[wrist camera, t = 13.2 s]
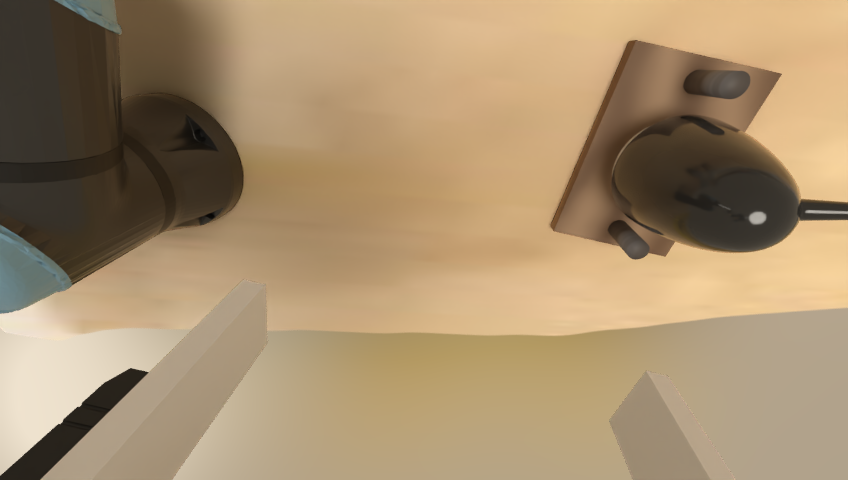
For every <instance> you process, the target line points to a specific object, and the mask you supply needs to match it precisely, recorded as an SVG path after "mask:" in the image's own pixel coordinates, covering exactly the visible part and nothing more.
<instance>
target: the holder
mask: <svg viewBox="0 0 848 480" xmlns="http://www.w3.org/2000/svg"><path fill="white" fill-rule="evenodd" d="M781 75H782V74H780V73H776V72H772V71H767V70H763V69H759V68H754V67H750V66H746V65H741V64H737V63H733V62H728V61H724V60H720V59H715V58H711V57H706V56H702V55H698V54H693V53H689V52H685V51H680V50H676V49H672V48H667V47H663V46H659V45H654V44H650V43H646V42H641V41H637V40H635V41H629V42H628V45H627V47H626V49H625V52H624V54H623V56H622V59H621V61H620V64H619V66H618V68H617V71H616V73H615V75H614V78H613V80H612V82H611V85H610V87H609V89H608V92H607V94H606V96H605V99H604V101H603V104H602V106H601V108H600V111H599V113H598V115H597V118H596V120H595V122H594V125H593V127H592V129H591V132H590V134H589V136H588V139H587V141H586V144H585V146H584V148H583V151H582V153H581V155H580V158H579V160H578V162H577V165H576V167H575V169H574V172H573V174H572V177H571V179H570V181H569V184H568V186H567V188H566V191H565V193H564V195H563V198H562V200H561V202H560V205H559V207H558V209H557V212H556V214H555V217H554V219H553V221H552V224H551V227H552V229H553V231H556V232H560V233H564V234H569V235H573V236H577V237H582V238H586V239H591V240H595V241H599V242H604V243H608V244H612V245H617V246H620V247H621V248H622V249H623V250H624V251H625V253H626V254H627V255H628V256H629V257H630V258H632V259H641V258H643V257H645V256H646V255H647V254H648V253H652V254H656V255H661V256H666V255H667V253H668V252H669V250H670V249H671V247H672V245H673V244H674V242H675V241H672V240H669V239H666V238H664V237H661V236H659V235H657V234H654V233H652V232H650V231H649V230H647V229H645V228H643V227H641V226H639V225H638V224H636V223H635V222H633V221H632V220H630V219H629V218H628V217H627V216H626V215H624V214H623V213H622V211H621V210H620V209H619V208H618V206H617V205H616V203H615V201H614V198H613V195H612V189H611V180H612V171H613V167H614V163H615V161H616V158H617V156H618V154H619V153H620V151H621V150H622V148H623V147H624V146H625V144H626V143H627V142H628V141H629V140H630V139H631V138H632V137H633V136H635V135H636V134H637V133H639V132H640V131H642V130H643V129H645V128H647V127H649V126H651V125H653V124H655V123H657V122H659V121H662V120H664V119H667V118H670V117H674V116H679V115H689V114H694V115H703V116H708V117H712V118H715V119H718V120H721V121H723V122H726V123H728V124H730V125H732V126H734V127H736V128H738V129H739V130H741V131H743V132H745V131H746V129H747V128H748V126H749V125H750V123H751V122H752V120H753V118H754V117H755V115H756V114H757V112H758V111H759V109H760V107H761V106H762V104H763V103H764V101H765V100H766V98H767V96H768V95H769V93H770V92H771V90H772V89H773V87H774V85H775V84H776V82H777V81H778V79H779V78H780V76H781Z"/></svg>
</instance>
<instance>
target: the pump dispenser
mask: <svg viewBox="0 0 848 480" xmlns="http://www.w3.org/2000/svg"><path fill="white" fill-rule="evenodd" d="M611 189H612V195H613V198H614V201H615V203H616V205H617V206H618V208H619V209H620V210H621V211H622V213H623V214H624V215H626V216H627V217H628V218H629V219H630V220H632V221H633V222H635V223H636V224H638V225H639V226H641V227H643V228H645V229H647V230H649V231H650V232H652V233H654V234H657V235H659V236H661V237H664V238H666V239H669V240H672V241H675V242H678V243H681V244H684V245H687V246H691V247H694V248H698V249H702V250H708V251H713V252H722V253H747V252H755V251H760V250H763V249H767V248H769V247H772V246H774V245H776V244H778V243H780V242H781V241H783V240H784V239H785V238H786V237H788V236H789V235H790V234H791V233H792V231H793V230H794V229H795V227H796V226H797V224H798V223H799V221H808V220H848V202H836V201H823V200H809V199H801V196H800V191H799V188H798V186H797V183H796V181H795V180H794V178H793V177H792V175H791V174H790V172H789V171H788V169H787V168H786V167H785V166H784V165H783V163H782V162H781V161H780V160H779V159H778V158H777V157H776V156H775V155H774V154H773V153H772V152H771V151H769V150H768V149H767V148H766V147H765V146H764V145H762V144H761V143H760V142H758V141H757V140H756V139H754V138H753V137H751V136H750V135H748V134H746V133H745V132H743V131H741V130H739V129H738V128H736V127H734V126H732V125H730V124H728V123H726V122H723V121H721V120H718V119H715V118H712V117H708V116H703V115H694V114H689V115H679V116H674V117H670V118H667V119H664V120H662V121H659V122H657V123H655V124H653V125H651V126H649V127H647V128H645V129H643V130H642V131H640V132H639V133H637V134H636V135H635V136H633V137H632V138H631V139H630V140H629V141H628V142H627V143H626V144H625V146H624V147H623V148H622V150H621V151H620V153H619V154H618V156H617V158H616V161H615V163H614V167H613V171H612V180H611Z"/></svg>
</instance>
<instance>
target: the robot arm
mask: <svg viewBox="0 0 848 480" xmlns="http://www.w3.org/2000/svg"><path fill="white" fill-rule="evenodd" d="M121 33H122V30H121V26H120V25H119V24H118V23H117V16H116V8H115V1H114V0H0V314H2V313H9V312H13V311H16V310H21V309H23V308H26V307H28V306H30V305H32V304H34V303H36V302H38V301H40V300H42V299H44V298H46V297H48V296H50V295H52V294H54V293H56V292H60V291H65V290H67V289H68V288H70V287H71V286H72V285H73V284H75V283H77V282H78V281H80V280H82V279H83V278H85V277H87V276H88V275H90V274H92V273H94V272H95V271H97V270H99V269H100V268H102V267H104V266H105V265H107V264H109V263H111V262H112V261H114V260H116V259H117V258H119V257H121V256H122V255H124V254H126V253H128V252H129V251H131V250H133V249H134V248H136V247H138V246H139V245H141V244H143V243H145V242H146V241H148V240H150V239H151V238H153V237H155V236H156V235H158V234H160V233H162V232H164V231H169V230H175V229H181V228H187V227H193V226H199V225H204V224H207V223H210V222H212V221H214V220H216V219H218V218H219V217H221V216H222V215H224V214H225V213H227V212H228V211H230V210H231V209H232V208H233V207H234V205H235V204H236V203H237V201H238V199H239V197H240V194H241V190H242V185H243V174H242V167H241V162H240V159H239V156H238V154H237V151H236V149H235V147H234V145H233V143H232V141H231V140H230V138H229V136H228V135H227V134H226V132H225V131H224V130H223V128H222V127H221V126H220V125H219V124H218V123H217V122H216V121H215V120H214V119H213V118H212V117H211V116H210V115H209V114H208V113H207V112H205V111H204V110H203V109H201V108H200V107H198V106H197V105H195V104H193V103H191V102H189V101H187V100H185V99H183V98H180V97H177V96H174V95H170V94H163V93H153V94H143V95H135V96H131V97H128V98H125V99H122V100H121V85H120V57H119V34H121ZM266 344H267V314H266V284H262V283H258V282H253V281H249V280H244V279H243V280H242V281H241V282H240V283H239V284H238V285H237V286H236V287H235V288H234V289H233V290H232V291H231V292H230V293H229V294H228V295H227V296H226V297H225V298H224V299H223V300H222V301H221V302H220V303H219V304H218V305H217V306H216V307H215V308H214V309H213V310H212V311H211V312H210V313H209V314H208V315H207V316H206V317H205V318H204V319H203V320H202V321H201V322H200V323H199V324H198V325H197V326H196V327H195V328H194V329H192V330H191V331H190V332H189V334H187V336H186V337H184V338H183V339H182V340H181V341H180V342H179V343H178V344H177V345H176V346H175V348H173V349H172V350H171V351H170V352H169V353H168V354H167V355H166V356H165V357H164V358H163V359H162V360H161V361H160V362H159V363H158V364H157V365H156V366H155V367H154V368H153V369H152V370H151V371H150V372H145V371H141V370H136V369H132V368H130V369H128V370H127V371H125V372H123V373H121V374H119V375H118V376H116V377H114V378H112V379H111V380H109V381H107V382H105V383H104V384H103V385H101V386H100V387H99V388H98V389H97V390H96V391H95V392H94V393H93V394H91V395H90V396H89V397H88V398H87V399H86V400H85V401H84V402H83V403H82V405H81V406H80V407H77V408H76V409H75V410H74V411H72V412H71V413H70V414H69V415H68V416H67V417H66V418H65V419H64V420H63V422H62V423H61V424H58V425H57V426H56V427H55V428H54V429H52V430H51V431H50V432H49V433H48V434H47V435H46V436H44V437H43V438H42V439H41V440H40V441H39V442H38V443H37V444H36V445H34V446H33V447H32V448H31V449H30V450H29V451H28V452H27V453H25V454H24V455H23V456H22V457H21V458H20V459H19V460H18V461H16V462H15V463H14V464H13V465H12V466H11V467H10V468H9V469H8V470H6V471H5V472H4V473H3V474H2V475H1V476H0V480H172V479H173V478H174V476H175V475H176V473H177V472H178V470H179V469H180V467H181V466H182V464H183V463H184V462H185V460H186V459H187V458H188V456H189V454H190V453H191V452H192V450H193V449H194V447H195V446H196V445H197V443H198V442H199V440H200V439H201V437H202V436H203V435H204V433H205V432H206V430H207V429H208V427H209V426H210V425H211V423H212V422H213V420H214V419H215V417H216V415H217V414H218V413H219V412H220V410H221V409H222V407H223V406H224V404H225V403H226V401H227V400H228V399H229V397H230V396H231V394H232V393H233V391H234V390H235V389H236V387H237V386H238V384H239V383H240V382H241V380H242V379H243V377H244V375H245V374H246V373H247V372H248V370H249V369H250V367H251V366H252V364H253V363H254V361H255V360H256V359H257V357H258V356H259V354H260V353H261V351H262V350H263V349H264V347H265V346H266ZM609 422H610V424H611V427H612V429H613V432H614V434H615V437H616V439H617V442H618V444H619V446H620V449H621V451H622V454H623V456H624V459H625V461H626V464H627V466H628V469H629V471H630V474H631V476H632V479H633V480H736V479H735V477H734V476H733V474H732V473H731V471H730V470H729V468H728V467H727V465H726V464H725V462H724V461H723V459H722V457H721V456H720V455H719V453H718V451H717V450H716V448H715V447H714V445H713V444H712V442H711V441H710V439H709V438H708V436H707V435H706V433H705V431H704V430H703V428H702V427H701V425H700V424H699V422H698V421H697V419H696V418H695V416H694V415H693V413H692V412H691V410H690V408H689V407H688V405H687V404H686V402H685V401H684V399H683V398H682V396H681V395H680V393H679V392H678V390H677V389H676V387H675V385H674V384H673V382H672V381H671V379H670V378H669V376H667V375H662V374H658V373H654V372H649V371H645V373H644V374H643V375H642V377H641V378H640V379H639V381H638V382H637V383H636V385H635V386H634V388H633V389H632V390H631V392H630V393H629V394H628V396H627V397H626V398H625V400H624V401H623V402H622V404H621V405H620V406H619V408H618V409H617V410H616V412H615V413H614V414H613V416H612V417H611V418H610V420H609Z"/></svg>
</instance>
